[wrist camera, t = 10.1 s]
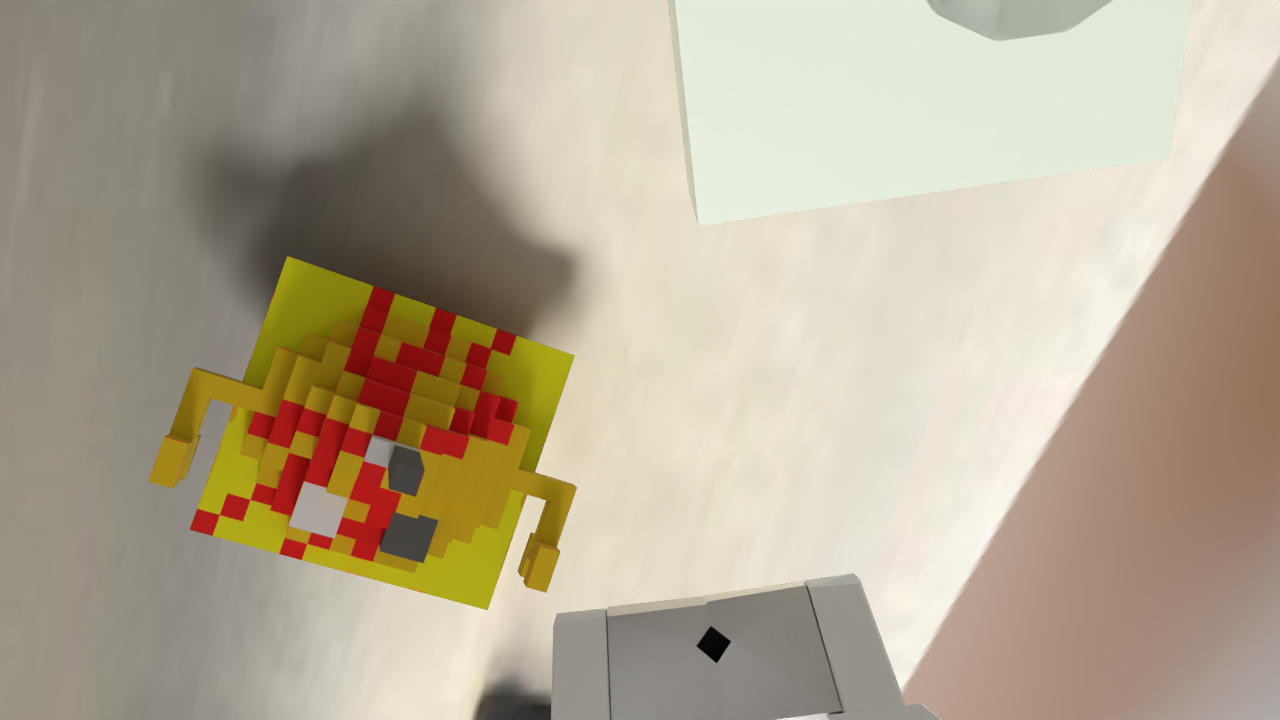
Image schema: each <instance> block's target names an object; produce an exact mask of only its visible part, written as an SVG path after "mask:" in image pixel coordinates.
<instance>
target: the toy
mask: <svg viewBox="0 0 1280 720" xmlns="http://www.w3.org/2000/svg"><path fill="white" fill-rule="evenodd" d="M573 359H574V355H571V354H568V353H566V352H563V351H560V350H557V349H554V348H551V347H548V346H545V345H543V344H540V343H537V342H534V341H531V340H528V339H525V338H522V337H519V336H517V335H514V334H511V333H508V332H505V331H502V330H499V329H496V328H493V327H491V326H488V325H485V324H482V323H479V322H476V321H473V320H470V319H468V318H465V317H462V316H459V315H456V314H453V313H450V312H447V311H444V310H442V309H439V308H436V307H433V306H430V305H427V304H424V303H421V302H418V301H416V300H413V299H410V298H407V297H404V296H401V295H398V294H395V293H393V292H390V291H387V290H384V289H381V288H378V287H375V286H372V285H369V284H367V283H364V282H361V281H358V280H355V279H352V278H349V277H346V276H343V275H341V274H338V273H335V272H332V271H329V270H326V269H323V268H320V267H318V266H315V265H312V264H309V263H306V262H303V261H300V260H297V259H294V258H292V257H289V256H287V258H286V261H285V264H284V267H283V270H282V272H281V275H280V278H279V281H278V284H277V286H276V289H275V292H274V295H273V298H272V300H271V303H270V306H269V309H268V312H267V314H266V317H265V320H264V323H263V326H262V328H261V331H260V334H259V337H258V340H257V342H256V345H255V348H254V351H253V354H252V356H251V359H250V362H249V365H248V368H247V370H246V373H245V376H244V379H243V382H242V381H239V380H236V379H233V378H230V377H226V376H223V375H220V374H217V373H214V372H210V371H207V370H204V369H201V368H197V367H196V368H193V369H192V372H191V375H190V378H189V381H188V383H187V386H186V389H185V392H184V394H183V397H182V400H181V403H180V406H179V408H178V411H177V414H176V417H175V419H174V422H173V425H172V428H171V431H170V433H169V434H168V435H167V436H165V437H164V439H163V442H162V445H161V448H160V450H159V453H158V456H157V459H156V461H155V464H154V467H153V470H152V473H151V475H150V478H149V481H148V482H152V483H155V484H159V485H163V486H166V487H170V488H174V487H175V486H176V485H177V484H178V481H179V480H181V481H182V480H183V479H184V478H186V476H187V473H188V471H189V468H190V465H191V462H192V459H193V457H194V454H195V451H196V448H197V445H198V443H199V440H200V437H201V435H198V434H199V431H200V429H201V426H202V423H203V420H204V417H205V415H206V412H207V409H208V406H209V403H210V401H211V398H212V399H215V400H219V401H222V402H225V403H228V404H232V405H234V407H233V410H232V412H231V415H230V418H229V421H228V424H227V426H226V429H225V432H224V435H223V438H222V440H221V443H220V446H219V449H218V452H217V454H216V457H215V460H214V463H213V466H212V469H211V471H210V474H209V477H208V480H207V483H206V485H205V488H204V491H203V494H202V497H201V499H200V502H199V505H198V508H197V511H196V513H195V516H194V519H193V522H192V525H191V527H190V530H193V531H196V532H200V533H204V534H207V535H211V536H215V537H219V538H222V539H226V540H230V541H233V542H237V543H241V544H244V545H248V546H252V547H256V548H259V549H263V550H267V551H270V552H274V553H278V554H282V555H285V556H289V557H293V558H296V559H300V560H304V561H307V562H311V563H315V564H319V565H322V566H326V567H330V568H333V569H337V570H341V571H345V572H348V573H352V574H356V575H359V576H363V577H367V578H370V579H374V580H378V581H382V582H385V583H389V584H393V585H396V586H400V587H404V588H408V589H411V590H415V591H419V592H422V593H426V594H430V595H433V596H437V597H441V598H445V599H448V600H452V601H456V602H459V603H463V604H467V605H471V606H474V607H478V608H482V609H485V610H488V607H489V604H490V601H491V598H492V595H493V593H494V590H495V587H496V584H497V581H498V578H499V575H500V572H501V569H502V566H503V563H504V560H505V558H506V555H507V552H508V549H509V546H510V543H511V540H512V537H513V534H514V531H515V528H516V525H517V523H518V520H519V517H520V514H521V511H522V508H523V505H524V502H525V499H526V496H527V495H531V496H534V497H537V498H541V499H544V500H546V503H545V506H544V509H543V512H542V515H541V518H540V521H539V523H538V526H537V529H536V532H535V534H534V533H531V534H530V537H529V540H528V542H527V545H526V548H525V551H524V554H523V557H522V560H521V563H520V566H519V569H518V572H519V574H520V576H522V577H525V578H524V581H523V582H524V584H525V585H526V587H528V588H532V589H535V590H539V591H542V592H547V589H548V586H549V583H550V581H551V578H552V575H553V572H554V569H555V566H556V563H557V560H558V557H559V554H560V551H559V550H558V548H557V544H558V541H559V539H560V536H561V533H562V530H563V527H564V524H565V521H566V518H567V515H568V512H569V509H570V506H571V503H572V500H573V497H574V495H575V492H576V489H577V487H575V486H574V485H573V484H570V483H567V482H564V481H561V480H558V479H554V478H551V477H548V476H545V475H542V474H538V473H535V470H536V467H537V464H538V461H539V458H540V455H541V452H542V450H543V447H544V444H545V441H546V438H547V435H548V432H549V429H550V426H551V423H552V420H553V417H554V415H555V412H556V409H557V406H558V403H559V400H560V397H561V394H562V391H563V388H564V385H565V382H566V380H567V377H568V374H569V371H570V368H571V365H572V362H573Z"/></svg>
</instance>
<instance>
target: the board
mask: <svg viewBox="0 0 1280 720" xmlns="http://www.w3.org/2000/svg"><path fill="white" fill-rule="evenodd" d="M668 4H669V13H670V22H671V32H672V41H673V50H674V59H675V68H676V78H677V87H678V96H679V105H680V114H681V124H682V133H683V142H684V151H685V161H686V170H687V179H688V188H689V194H690V197H691V201H692V204H693V208H694V211H695V215H696V219H697V222H698V226H700V225H707V224H714V223H721V222H728V221H735V220H742V219H749V218H756V217H763V216H770V215H777V214H784V213H791V212H798V211H805V210H812V209H819V208H826V207H833V206H840V205H847V204H854V203H861V202H868V201H875V200H882V199H889V198H896V197H903V196H910V195H917V194H924V193H931V192H938V191H945V190H952V189H959V188H966V187H973V186H980V185H987V184H994V183H1001V182H1008V181H1015V180H1022V179H1029V178H1036V177H1043V176H1050V175H1057V174H1064V173H1071V172H1078V171H1085V170H1092V169H1099V168H1106V167H1113V166H1120V165H1127V164H1134V163H1141V162H1148V161H1155V160H1162V159H1169V154H1170V148H1171V141H1172V135H1173V128H1174V122H1175V115H1176V109H1177V102H1178V96H1179V89H1180V83H1181V76H1182V70H1183V63H1184V57H1185V50H1186V44H1187V37H1188V31H1189V25H1190V18H1191V12H1192V5H1193V0H668Z"/></svg>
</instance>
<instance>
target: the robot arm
mask: <svg viewBox="0 0 1280 720" xmlns="http://www.w3.org/2000/svg"><path fill="white" fill-rule="evenodd" d="M551 720H943V719H941V718H940V717H939V716H937V715H936V714H935V713H933V712H932V711H931V710H929V709H928V708H927V707H926V706H924V705H923V704H922V703H919V704H909V705H905V702H904V700H903V697H902V694H901V691H900V689H899V686H898V683H897V680H896V677H895V675H894V672H893V669H892V666H891V664H890V661H889V658H888V655H887V653H886V650H885V647H884V644H883V642H882V639H881V636H880V633H879V631H878V628H877V625H876V622H875V620H874V617H873V614H872V611H871V609H870V606H869V603H868V600H867V598H866V595H865V592H864V589H863V587H862V584H861V581H860V580H859V579H858V577H857V576H856V575H855V574H854V573H853V574H847V575H840V576H833V577H826V578H820V579H813V580H806V581H804V583H803V582H802V581H800V582H794V583H787V584H780V585H773V586H766V587H759V588H752V589H746V590H739V591H732V592H725V593H718V594H711V595H705V596H702V597H693V598H684V599H675V600H666V601H657V602H648V603H639V604H630V605H621V606H612V607H608V609H607V608H605V609H595V610H586V611H576V612H567V613H558V614H557V616H556V619H555V623H554V626H553V664H552V706H551Z"/></svg>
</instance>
